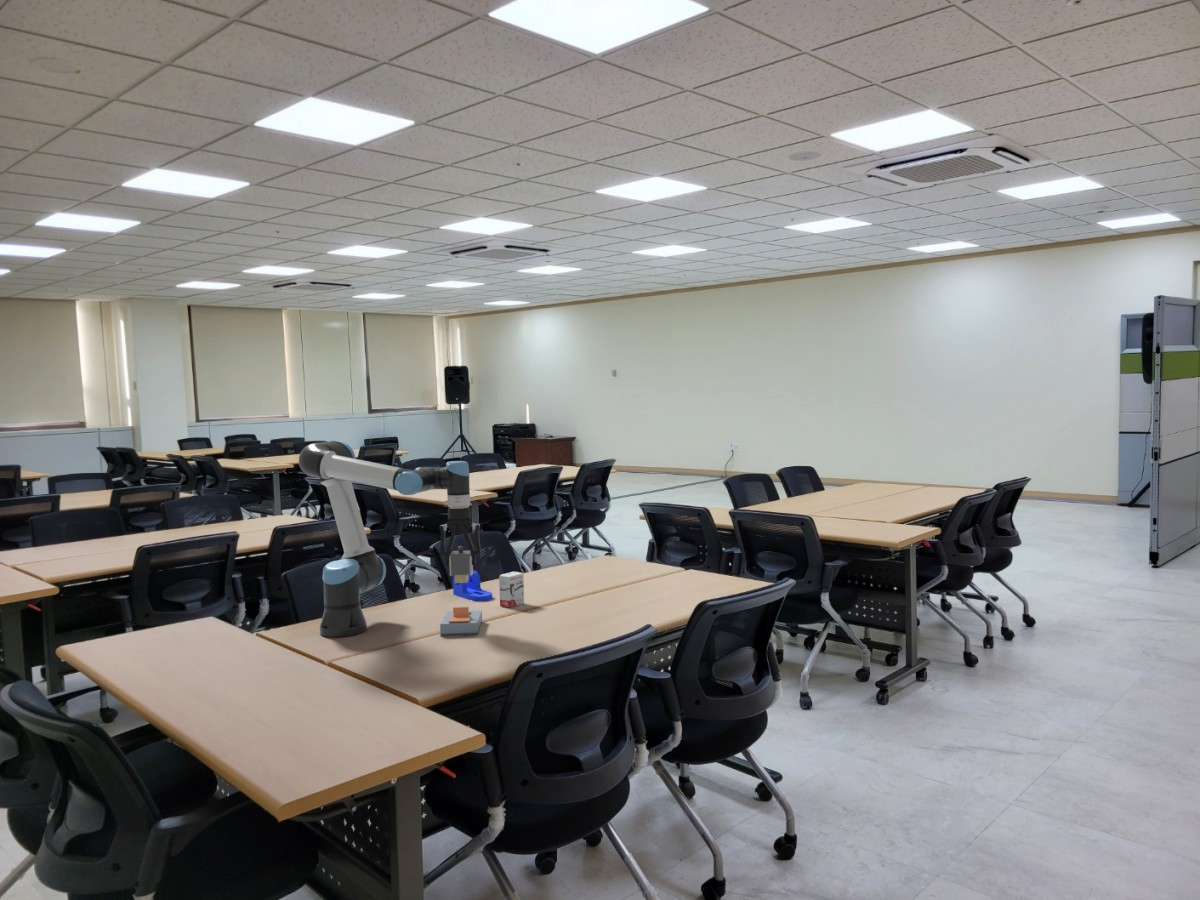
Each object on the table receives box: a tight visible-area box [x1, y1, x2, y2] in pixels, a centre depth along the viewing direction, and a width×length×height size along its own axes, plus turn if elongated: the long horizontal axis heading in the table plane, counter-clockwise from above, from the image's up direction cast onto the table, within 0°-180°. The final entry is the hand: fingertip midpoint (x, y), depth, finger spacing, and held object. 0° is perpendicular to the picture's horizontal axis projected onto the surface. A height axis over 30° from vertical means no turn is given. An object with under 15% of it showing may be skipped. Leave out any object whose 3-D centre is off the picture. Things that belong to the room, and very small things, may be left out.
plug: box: [450, 545, 471, 583], centre depth 281 cm, size 6×6×12 cm
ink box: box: [498, 571, 525, 609], centre depth 310 cm, size 9×5×12 cm, turn 143°
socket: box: [439, 609, 483, 637], centre depth 279 cm, size 12×16×4 cm
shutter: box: [449, 606, 471, 622], centre depth 275 cm, size 7×7×3 cm
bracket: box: [452, 570, 493, 602], centre depth 324 cm, size 18×8×9 cm, turn 41°
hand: (461, 574), depth 281 cm, fingers closed on plug, 6 cm apart
